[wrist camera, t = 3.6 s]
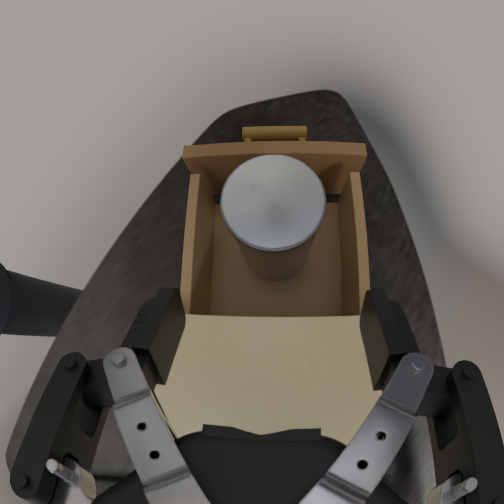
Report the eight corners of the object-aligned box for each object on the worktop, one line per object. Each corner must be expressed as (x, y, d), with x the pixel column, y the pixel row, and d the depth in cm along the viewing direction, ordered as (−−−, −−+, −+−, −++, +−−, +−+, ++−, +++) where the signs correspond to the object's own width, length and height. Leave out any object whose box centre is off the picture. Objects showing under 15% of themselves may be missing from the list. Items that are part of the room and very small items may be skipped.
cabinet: (193, 317, 28) (153, 312, 19) (359, 317, 26) (395, 313, 17) (193, 479, 24) (163, 524, 15) (347, 482, 22) (368, 531, 13)
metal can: (243, 281, 26) (216, 250, 15) (244, 218, 27) (222, 154, 17) (309, 281, 25) (330, 250, 15) (308, 218, 27) (322, 152, 16)
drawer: (208, 151, 31) (190, 108, 24) (343, 149, 30) (356, 104, 22) (195, 353, 26) (165, 361, 19) (355, 354, 25) (382, 364, 17)
